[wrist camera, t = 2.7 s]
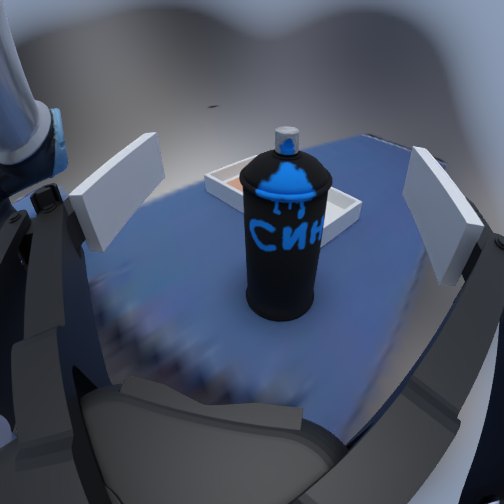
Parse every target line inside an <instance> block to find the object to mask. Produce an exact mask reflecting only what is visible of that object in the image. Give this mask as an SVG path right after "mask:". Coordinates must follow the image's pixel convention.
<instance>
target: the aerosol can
mask: <svg viewBox="0 0 504 504" xmlns="http://www.w3.org/2000/svg"><path fill="white" fill-rule="evenodd" d="M298 148H299V130H298V129H297V128H294V127H279V128H277V129H276V130H275V150H270V151H267V152H264V153H261V154H259V155H258V156H256V157H255V158H254V159H253V160H252V161H251V162H249V163H248V165H246V166H245V167H244V168H243V169H242V170H241V172H240V175H239V180H240V183H241V185H242V186H243V206H244V225H245V245H246V263H247V282H248V287H247V290H246V298H247V301H248V304H249V306H250V307H251V308H252V309H253V311H255V312H256V313H257V314H258V315H260V316H262V317H264V318H267V319H270V320H275V321H287V320H292V319H295V318H298V317H300V316H301V315H303V314H304V313H305V312H307V311H308V309H309V308H310V307H311V305H312V303H313V300H314V290H313V288H314V282H315V277H316V271H317V265H318V259H319V253H320V246H321V240H322V233H323V227H324V220H325V212H326V205H327V197H328V190H329V189H330V188H331V185H332V176H331V174H330V173H329V172H328V170H327V169H325V168H324V166H323V165H322V164H321V163H320V162H319V161H318V160H317V159H316V158H315V157H313V156H311V155H309V154H307V153H305V152H302V151H299V150H298Z"/></svg>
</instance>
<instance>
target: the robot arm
mask: <svg viewBox="0 0 504 504" xmlns="http://www.w3.org/2000/svg"><path fill="white" fill-rule="evenodd" d="M67 166H68V157H67V152H66V146H65V140H64V133H63V127H62V120H61V114H60V110H59V109H57V108H55V109H50V110H49V109H48V108H47V106H46V105H45V104H43V103H42V102H40V101H36V100H34V98H33V96H32V93H31V90H30V88H29V85H28V83H27V80H26V78H25V75H24V72H23V69H22V66H21V63H20V60H19V58H18V54H17V52H16V48H15V45H14V42H13V38H12V35H11V31H10V28H9V24H8V20H7V16H6V12H5V8H4V4H3V0H0V504H407V503H408V502H409V501H410V500H411V498H412V497H413V496H414V495H415V494H416V492H417V491H418V490H419V488H420V487H421V486H422V485H423V483H424V482H425V480H426V479H427V478H428V477H429V475H430V474H431V472H432V471H433V470H434V468H435V467H436V465H437V464H438V462H439V461H440V459H441V458H442V456H443V455H444V453H445V452H446V450H447V449H448V447H449V445H450V443H451V442H452V441H453V439H454V437H455V436H456V434H457V432H458V430H459V427H460V423H461V421H460V420H459V419H457V416H458V414H459V412H460V410H461V407H462V406H463V404H464V402H465V400H466V398H467V396H468V394H469V392H470V390H471V388H472V386H473V384H474V382H475V380H476V378H477V376H478V373H479V371H480V369H481V367H482V365H483V362H484V360H485V357H486V355H487V353H488V350H489V348H490V345H491V342H492V340H493V337H494V334H495V332H496V329H497V326H498V323H499V336H498V347H497V357H496V365H495V372H494V378H493V384H492V390H491V395H490V400H489V405H488V410H487V414H486V418H485V422H484V426H483V430H482V433H481V437H480V440H479V444H478V447H477V450H476V453H475V456H474V459H473V462H472V465H471V468H470V470H469V473H468V476H467V479H466V482H465V485H464V487H463V490H462V493H461V496H460V500H459V503H458V504H504V237H503V236H501V235H499V234H496V233H493V232H492V230H491V229H490V227H489V225H488V224H487V222H486V221H485V219H483V216H482V215H481V214H480V213H479V211H478V209H477V208H476V207H475V205H474V204H473V203H472V202H471V201H469V199H467V198H466V197H464V195H463V194H462V193H461V191H460V190H459V189H458V187H457V186H456V185H455V183H454V182H453V181H452V179H451V178H450V177H449V176H448V174H447V173H446V172H445V171H444V169H443V168H442V167H441V166H440V165H439V163H438V162H437V161H436V160H435V159H434V157H433V156H432V155H431V154H430V153H429V152H428V150H427V149H424V148H420V147H414V146H413V147H412V153H411V157H410V162H409V167H408V172H407V176H406V180H405V185H404V189H403V193H402V194H403V196H404V198H405V200H406V202H407V205H408V207H409V209H410V211H411V214H412V216H413V218H414V220H415V223H416V225H417V227H418V230H419V232H420V235H421V237H422V240H423V242H424V245H425V247H426V250H427V252H428V255H429V258H430V260H431V263H432V266H433V269H434V272H435V274H436V277H437V280H438V283H439V285H448V286H455V285H456V284H457V282H458V280H459V278H460V276H461V274H462V275H463V278H464V280H465V283H464V285H463V287H462V288H461V290H460V292H459V293H458V295H457V297H456V298H455V300H454V302H453V305H452V306H451V308H450V310H449V312H448V313H447V315H446V317H445V319H444V320H443V322H442V324H441V325H440V327H439V328H438V330H437V332H436V334H435V335H434V336H433V338H432V340H431V341H430V343H429V344H428V346H427V347H426V349H425V350H424V352H423V353H422V355H421V356H420V357H419V359H418V360H417V362H416V363H415V365H414V366H413V367H412V369H411V370H410V371H409V373H408V374H407V376H406V377H405V378H404V380H403V381H402V382H401V383H400V385H399V386H398V387H397V389H396V390H395V391H394V392H393V394H392V395H391V396H390V397H389V399H388V400H387V401H386V402H385V403H384V405H383V406H382V407H381V408H380V409H379V410H378V412H377V413H376V414H375V415H374V416H373V417H372V419H371V420H370V421H369V422H368V423H367V424H366V425H365V426H364V427H363V428H362V429H361V430H360V431H359V432H358V433H357V434H356V435H355V436H354V437H353V438H352V439H351V440H350V441H349V442H348V443H347V444H346V445H344V444H343V443H342V442H341V441H340V440H339V439H338V438H337V437H336V436H335V435H333V434H332V433H331V432H330V431H328V430H326V429H325V428H323V427H322V426H320V425H318V424H316V423H313V422H311V421H309V420H306V419H303V418H302V414H303V408H297V407H287V406H278V405H270V404H262V403H246V404H232V405H211V406H210V405H203V404H201V403H199V402H197V401H195V400H193V399H191V398H189V397H187V396H185V395H183V394H181V393H179V392H177V391H175V390H174V389H172V388H170V387H168V386H166V385H164V384H161V383H157V382H153V381H150V380H146V379H142V378H139V377H136V376H132V375H129V374H127V375H126V378H125V380H124V383H123V384H118V385H112V384H111V382H110V380H109V377H108V374H107V370H106V367H105V363H104V359H103V355H102V351H101V347H100V343H99V339H98V334H97V330H96V325H95V320H94V315H93V310H92V304H91V298H90V292H89V286H88V280H87V272H86V265H85V256H84V251H83V249H82V247H81V244H82V243H83V242H84V241H85V239H86V242H87V244H88V246H89V249H90V251H97V252H104V251H105V250H106V248H107V247H108V246H109V244H110V243H111V242H112V240H113V239H114V238H115V237H116V235H117V234H118V233H119V231H120V230H121V229H122V228H123V226H124V225H125V224H126V223H127V221H128V220H129V219H130V218H131V216H132V215H133V214H134V213H135V211H136V210H137V209H138V208H139V207H140V205H141V204H142V203H143V202H144V201H145V199H146V198H147V197H148V196H149V195H150V194H151V192H152V191H153V190H154V189H155V188H156V187H157V185H158V184H159V183H160V182H161V181H162V180H163V179H164V178H165V174H164V169H163V164H162V158H161V152H160V147H159V141H158V135H157V132H154V133H145V134H143V135H142V136H140V137H139V138H138V139H136V140H135V141H134V142H132V143H131V144H130V145H128V146H127V147H126V148H124V149H123V150H122V151H120V152H119V153H118V154H116V155H115V156H114V157H113V158H111V159H110V160H109V161H107V162H106V163H105V164H104V165H103V166H101V167H100V168H99V169H98V170H97V171H95V172H94V173H93V174H92V175H91V176H90V177H88V178H87V179H86V180H85V181H84V182H83V183H81V184H80V185H79V186H78V187H77V188H76V189H75V190H73V191H72V192H71V193H70V194H69V195H68V196H69V197H68V198H67V199H66V200H65V201H64V202H63V201H62V198H61V195H60V192H59V190H58V187H57V184H55V183H52V184H48V185H45V186H43V187H41V188H39V189H38V190H36V191H35V192H34V193H33V194H32V195H31V197H30V199H31V202H32V204H33V207H34V209H35V211H36V214H37V216H36V217H35V218H31V219H30V217H29V215H28V213H27V211H26V210H20V211H18V212H17V210H16V209H15V208H14V207H13V206H12V204H11V202H10V200H9V198H8V197H10V196H12V195H14V194H16V193H18V192H20V191H22V190H24V189H26V188H28V187H30V186H32V185H34V184H37V183H39V182H41V181H43V180H45V179H48V178H52V177H54V176H55V175H57V174H58V173H61V172H63V171H64V170H65V169H66V168H67ZM21 259H22V261H23V262H22V264H21V262H20V260H21ZM15 422H16V429H17V436H18V437H17V436H16V435H15V434H13V433H12V432H13V429H14V425H15Z"/></svg>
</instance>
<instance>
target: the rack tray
mask: <svg viewBox="0 0 504 504" xmlns="http://www.w3.org/2000/svg"><path fill="white" fill-rule="evenodd" d="M256 156H258V155H254V156H252V157H249V158H246V159H243V160H241V161H239V162H235V163H233V164H230V165H228V166H225V167H222V168H220V169H217V170H215V171H212V172H210V173H207V174H205V175H204V177H205V185H206V191H207V192H208V193H210V194H212V195H213V196H215V197H217V198H218V199H220V200H222V201H223V202H225V203H227V204H228V205H230V206H232V207H233V208H235V209H237V210H238V211H240V212H241V213H243V214H244V206H243V186H242V185H241V183H240V180H239V175H240V172H241V170H242V169H243V168H244V167H245V166H246V165H248V163H249V162H251V161H252V160H253V159H254V158H255V157H256ZM361 205H362V201H360V200H358V199H356V198H354V197H352V196H350V195H347V194H345V193H343V192H341V191H339V190H337V189H335V188H333V187H331V188H330V189H329V190H328V197H327V205H326V212H325V220H324V227H323V233H322V240H321V246H320V248H321V247H322V246H324V245H325V244H327V243H328V242H329V241H331V240H332V239H333V238H335V237H336V236H337V235H339V234H340V233H341V232H343V231H344V230H345V229H347V228H348V227H349V226H351V225H352V224H353V223H355V222H356V221H357V220H358V219H359V215H360V210H361Z"/></svg>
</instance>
